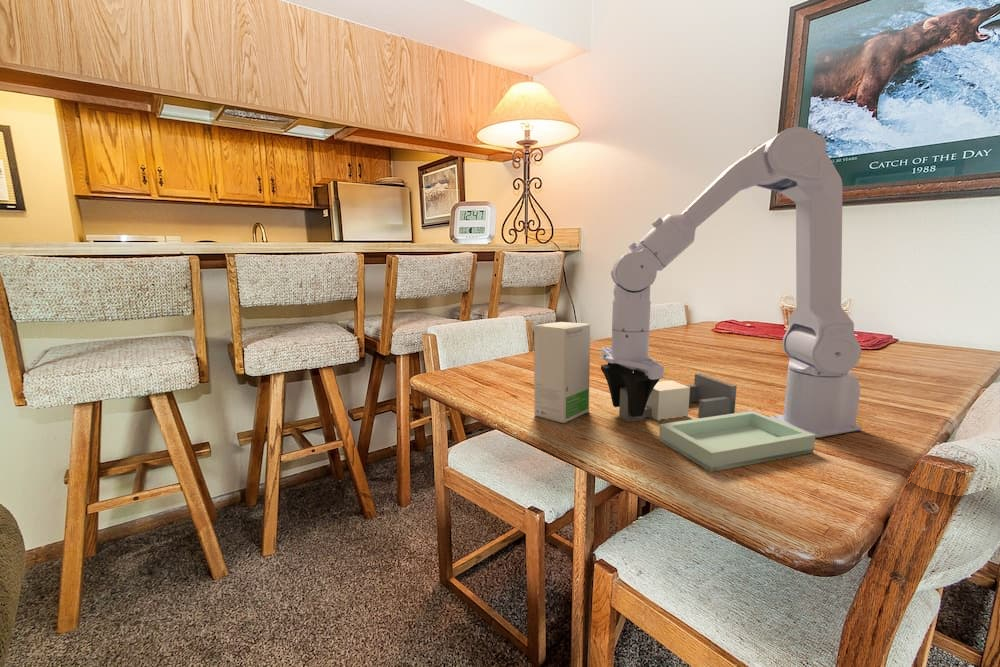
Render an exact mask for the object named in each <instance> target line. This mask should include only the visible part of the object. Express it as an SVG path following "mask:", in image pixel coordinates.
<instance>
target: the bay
mask: <svg viewBox="0 0 1000 667" xmlns="http://www.w3.org/2000/svg"><path fill="white" fill-rule="evenodd" d="M685 386H688V387H690V394H689V404H691V403H695V402H697V403H698V414H697V417H698V419H699V418H706V417H713V416H719V415H726V414H733V413H736V412H735V411H736V401H737V399H736V398H737V385H736V384H732V383H729V382H725V381H723V380H719V379H716V378H714V377H711V376H708V375H705V374H702V373H694V382H693V384H688V385H687V384H686V385H685Z"/></svg>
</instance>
